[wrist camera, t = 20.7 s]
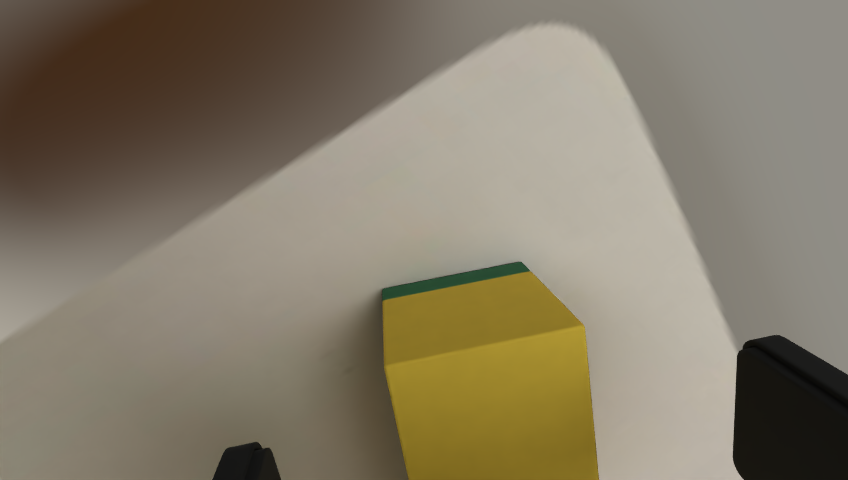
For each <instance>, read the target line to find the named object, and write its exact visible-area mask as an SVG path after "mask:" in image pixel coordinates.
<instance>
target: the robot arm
mask: <svg viewBox="0 0 848 480" xmlns="http://www.w3.org/2000/svg"><path fill="white" fill-rule="evenodd" d="M733 461H734V465H735V467H736V469H737V471H738V473H739V474H740V476H741V477H742V478H743V479H744V480H848V375H847V374H846V373H844V372H842V371H840V370H839V369H837V368H835V367H834V366H832V365H830V364H829V363H827V362H825V361H824V360H822V359H820V358H818V357H817V356H815V355H813V354H812V353H810V352H808V351H807V350H805V349H803V348H802V347H800V346H798V345H796V344H795V343H793V342H791V341H790V340H788V339H786V338H785V337H782V336H780V335H773V336H768V337H763V338H759V339H754V340H749V341H747V342H745V344H744V345H743V350H741V351H739V353H738V355H737V371H736V395H735V418H734V441H733ZM212 480H281V478H280V475H279V472H278V469H277V466H276V462H275V459H274V456H273V453H272V451H271V449H270V448H264V449H262V447H261V445H260V444H259V443H258V442H254V443H249V444H244V445H239V446H234V447H230V448H227V449H226V450H225V451H224V453H223V455H222V457H221V460H220V462H219V465H218V467H217V470H216V472H215V474H214V477H213V479H212Z"/></svg>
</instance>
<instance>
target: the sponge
mask: <svg viewBox="0 0 848 480" xmlns="http://www.w3.org/2000/svg"><path fill="white" fill-rule="evenodd" d="M382 308H383V347H384V370H385V375H386V379H387V384H388V388H389V393H390V397H391V402H392V407H393V411H394V416H395V420H396V425H397V429H398V434H399V439H400V443H401V448H402V452H403V457H404V461H405V466H406V471H407V475H408V480H599V475H598V464H597V454H596V443H595V432H594V421H593V411H592V400H591V389H590V378H589V368H588V357H587V346H586V335H585V327H584V325H583V324H582V323H581V322H580V321H579V320H578V319H577V318H576V317H575V316H574V315H573V314H572V313H571V312H570V311H569V310H568V309H567V308H566V307H565V306H564V305H563V304H562V303H561V301H560V300H559V299H558V298H557V297H556V296H555V295H554V294H553V293H552V292H551V291H550V290H549V289H548V288H547V287H546V286H545V285H544V284H543V283H542V282H541V281H540V280H539V279H538V278H537V277H536V276H535V275H534V274H533V273H532V272H530V270H529V269H528V268H527V267H526V266H525V265H524V264H523V263H522V262H516V263H511V264H506V265H501V266H496V267H491V268H486V269H481V270H476V271H471V272H465V273H460V274H455V275H450V276H445V277H440V278H435V279H430V280H425V281H420V282H415V283H410V284H405V285H399V286H394V287H389V288H384V289H383V290H382Z"/></svg>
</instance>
